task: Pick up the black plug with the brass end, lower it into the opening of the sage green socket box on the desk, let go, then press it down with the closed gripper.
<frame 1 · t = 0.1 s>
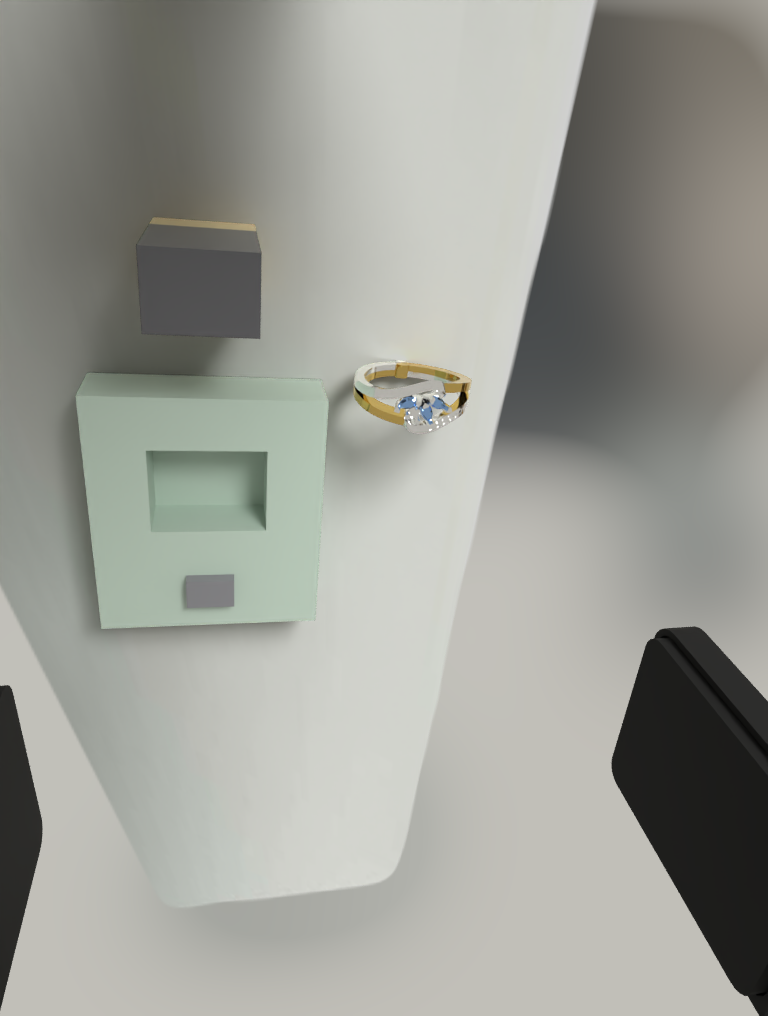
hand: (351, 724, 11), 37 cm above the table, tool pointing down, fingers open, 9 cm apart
ring: (398, 365, 47), on the table
socket: (210, 491, 49), on the table
plug: (205, 257, 42), on the table
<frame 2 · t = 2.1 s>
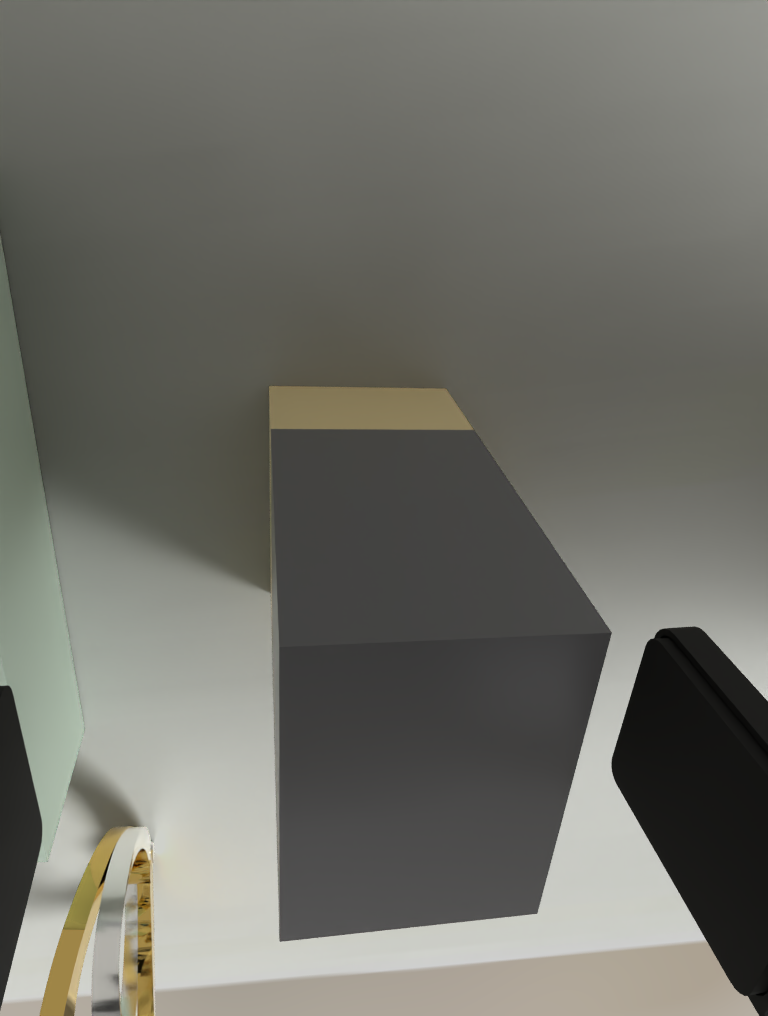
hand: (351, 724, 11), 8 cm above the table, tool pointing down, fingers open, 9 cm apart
ring: (141, 841, 22), on the table
plug: (353, 496, 18), on the table
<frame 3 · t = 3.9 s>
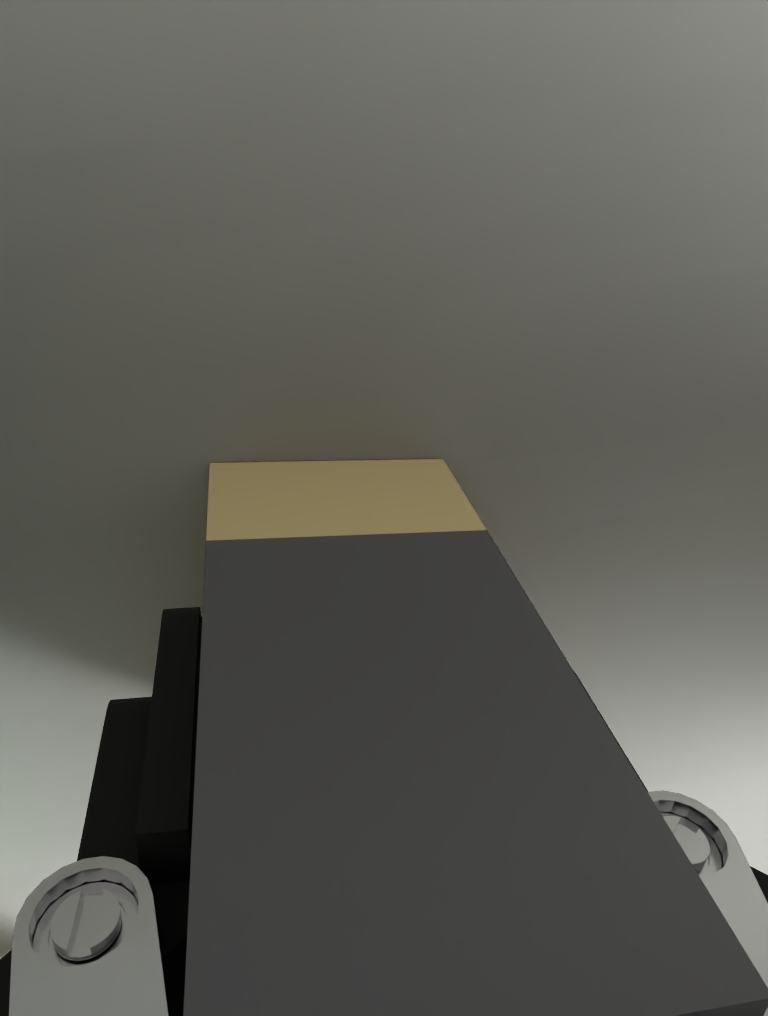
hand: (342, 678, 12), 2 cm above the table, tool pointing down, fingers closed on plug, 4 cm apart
plug: (325, 593, 14), on the table, touching gripper
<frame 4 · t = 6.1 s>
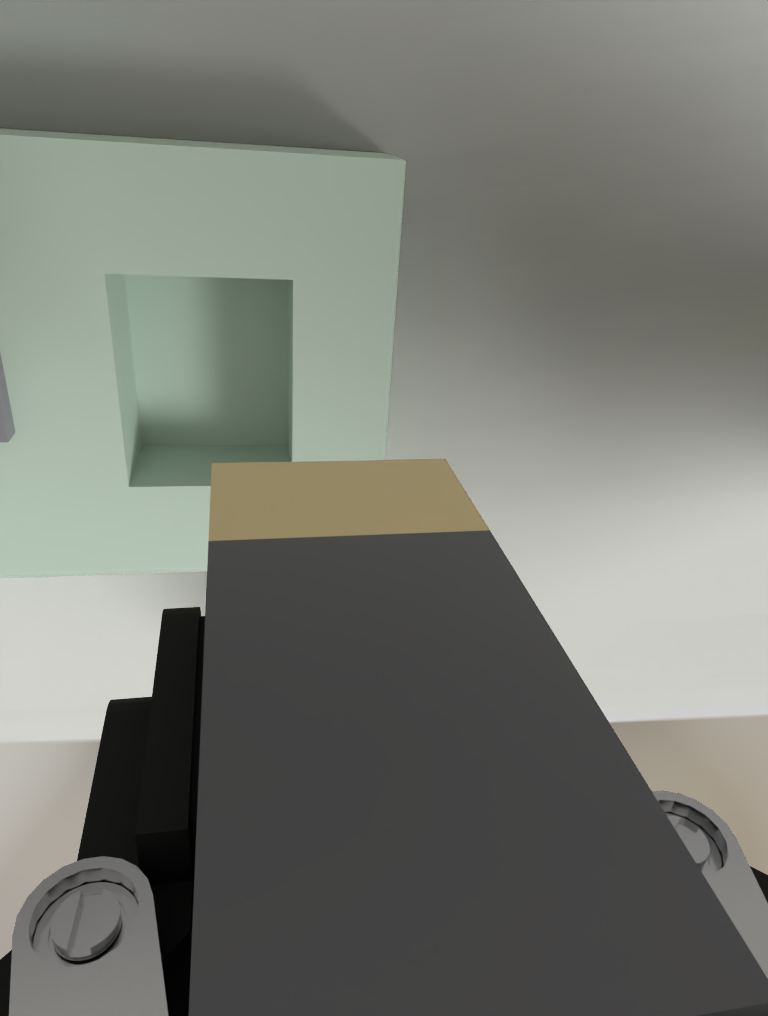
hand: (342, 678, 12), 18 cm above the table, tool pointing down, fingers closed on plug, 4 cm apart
socket: (156, 351, 27), on the table
plug: (327, 594, 14), point 16 cm above the table, touching gripper
when the fingers open (5 cm above the table, at t = 8.9 s): plug drops 2 cm, resting on socket.
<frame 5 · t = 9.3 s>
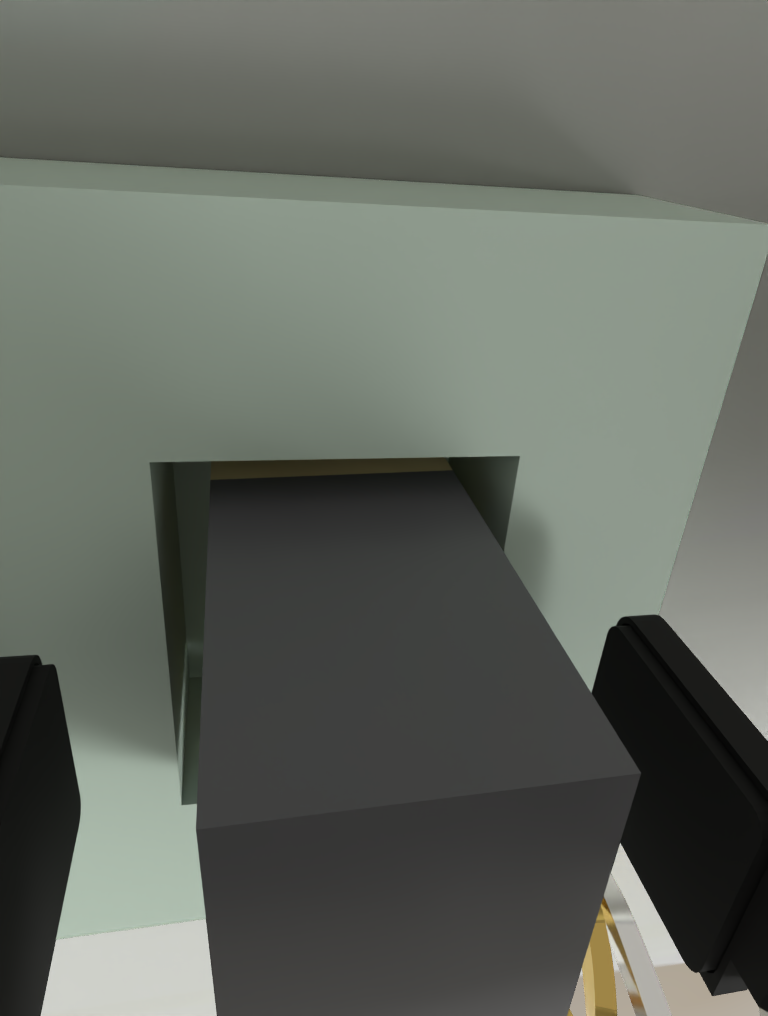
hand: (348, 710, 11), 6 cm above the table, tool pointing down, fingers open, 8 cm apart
ring: (524, 845, 23), on the table
socket: (217, 532, 15), on the table
plug: (318, 540, 15), resting on socket
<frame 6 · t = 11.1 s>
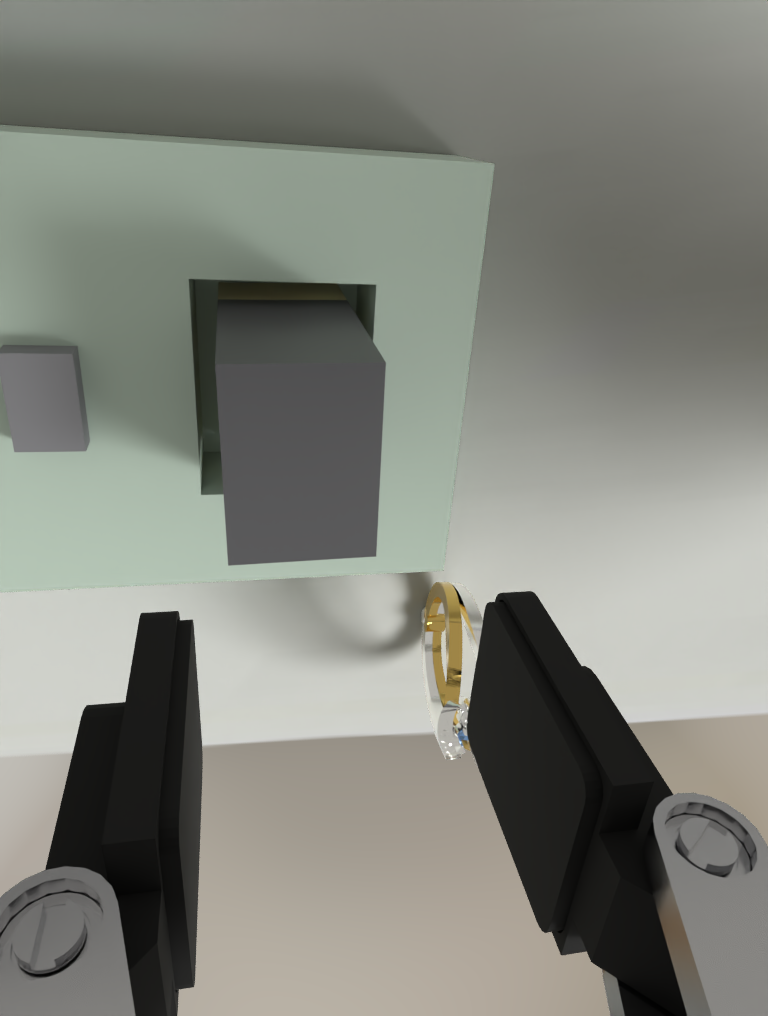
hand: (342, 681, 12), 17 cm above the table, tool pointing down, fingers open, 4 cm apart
ring: (429, 609, 34), on the table
socket: (220, 356, 26), on the table
plug: (280, 361, 26), resting on socket
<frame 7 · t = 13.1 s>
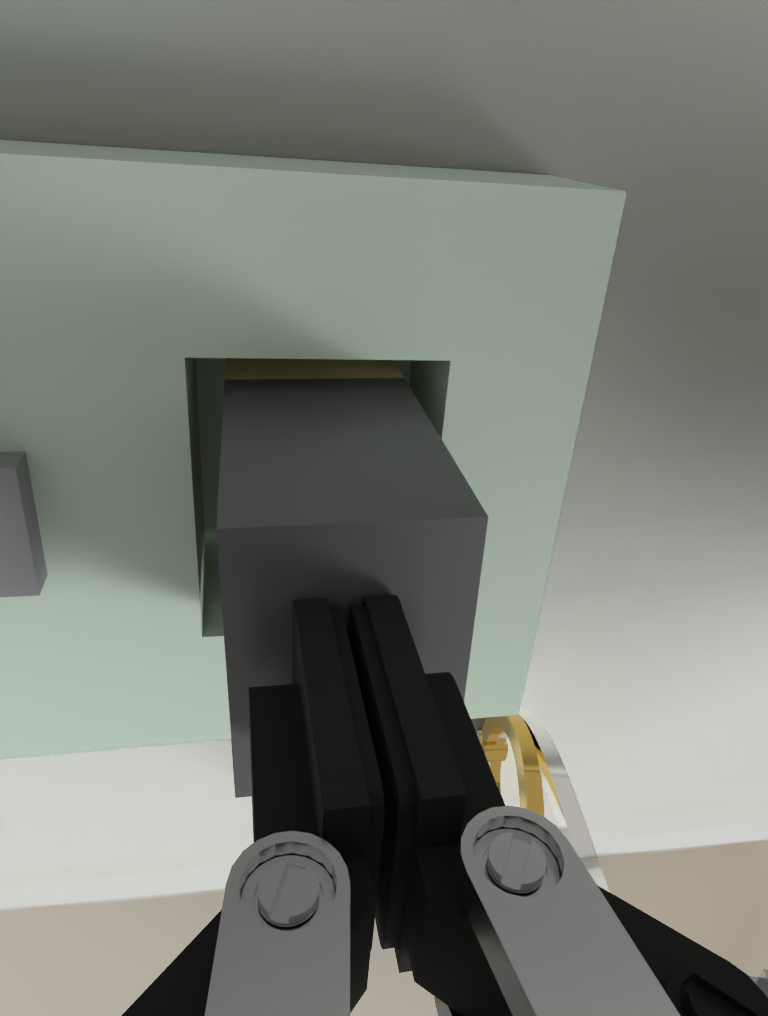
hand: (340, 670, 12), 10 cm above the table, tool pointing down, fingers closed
ring: (484, 730, 27), on the table
socket: (229, 440, 20), on the table
plug: (307, 446, 20), point 1 cm above the table, touching gripper, socket
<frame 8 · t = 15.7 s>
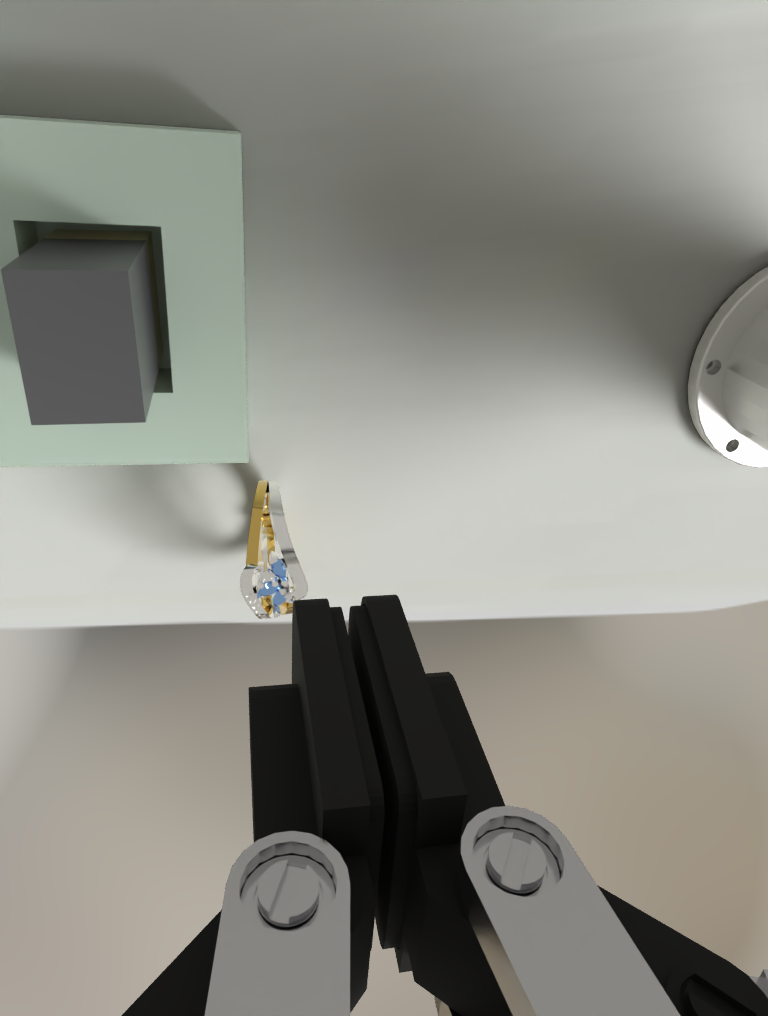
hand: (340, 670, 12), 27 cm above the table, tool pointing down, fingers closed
ring: (266, 511, 41), on the table
socket: (65, 290, 33), on the table
plug: (112, 293, 33), resting on socket
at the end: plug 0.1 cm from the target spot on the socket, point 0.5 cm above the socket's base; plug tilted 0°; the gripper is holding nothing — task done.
